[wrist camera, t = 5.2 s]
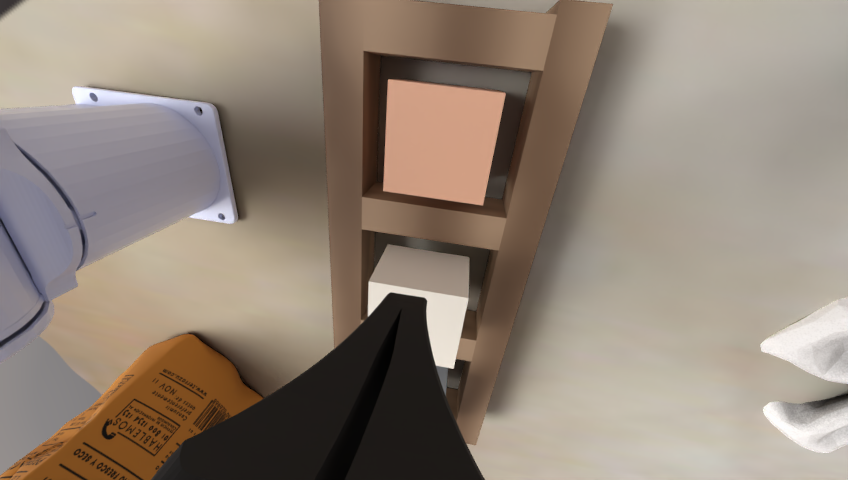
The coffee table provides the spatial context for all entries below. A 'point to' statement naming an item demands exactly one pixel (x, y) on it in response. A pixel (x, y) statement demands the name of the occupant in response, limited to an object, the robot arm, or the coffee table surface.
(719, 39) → the coffee table surface
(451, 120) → the terracotta block
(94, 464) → the coffee package
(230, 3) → the coffee table surface
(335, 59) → the block rack
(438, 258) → the cream block
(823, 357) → the cloth
